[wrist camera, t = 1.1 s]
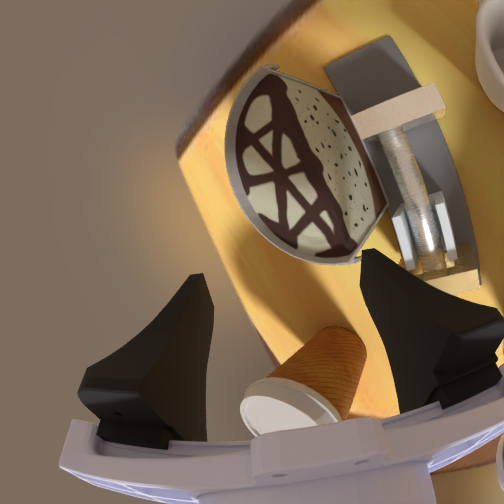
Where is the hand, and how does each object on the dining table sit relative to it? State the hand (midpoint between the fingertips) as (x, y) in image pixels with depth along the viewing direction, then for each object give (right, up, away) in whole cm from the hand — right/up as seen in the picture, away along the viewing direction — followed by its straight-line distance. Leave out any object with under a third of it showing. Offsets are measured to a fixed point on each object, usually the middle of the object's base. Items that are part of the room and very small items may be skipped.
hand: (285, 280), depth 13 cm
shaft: (+12, +6, +5) cm, 14 cm away
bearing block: (+12, +4, +7) cm, 15 cm away
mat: (+11, +8, +6) cm, 15 cm away
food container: (+6, +9, +10) cm, 14 cm away
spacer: (+11, 0, +4) cm, 12 cm away
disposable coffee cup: (+8, -9, +16) cm, 20 cm away
